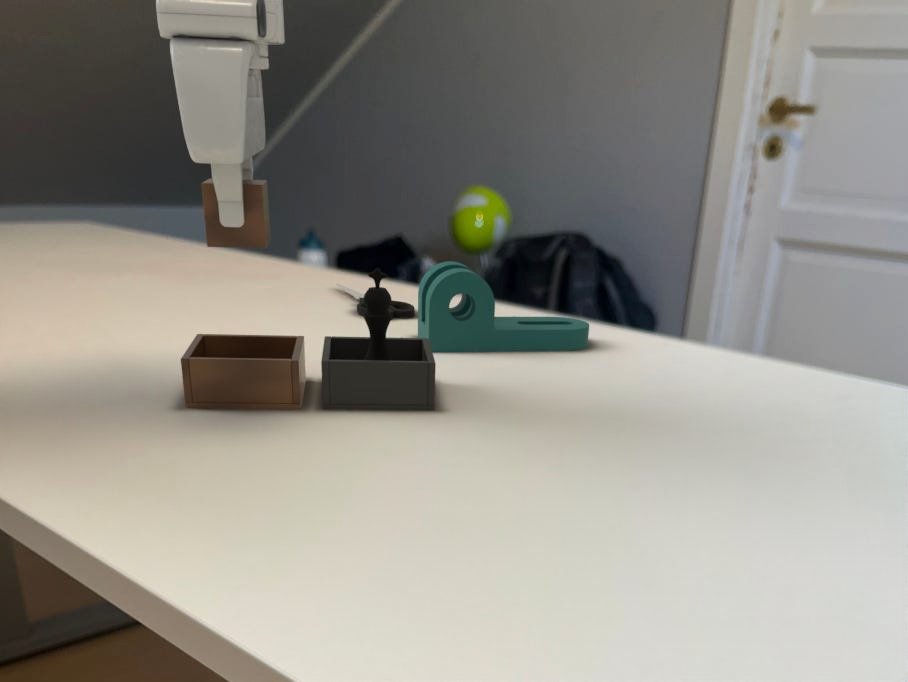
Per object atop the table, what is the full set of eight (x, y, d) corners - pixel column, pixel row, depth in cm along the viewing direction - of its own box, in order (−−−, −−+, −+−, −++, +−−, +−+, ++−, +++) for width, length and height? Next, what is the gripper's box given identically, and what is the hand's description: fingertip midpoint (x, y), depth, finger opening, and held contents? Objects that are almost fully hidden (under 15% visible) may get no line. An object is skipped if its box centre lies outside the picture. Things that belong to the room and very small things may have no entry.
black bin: (323, 410, 80) (321, 360, 78) (326, 381, 88) (324, 336, 86) (434, 411, 81) (435, 362, 79) (427, 382, 89) (428, 338, 87)
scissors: (309, 289, 127) (371, 320, 112) (309, 282, 126) (371, 312, 111) (357, 287, 130) (423, 317, 115) (357, 280, 129) (424, 309, 114)
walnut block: (207, 246, 75) (201, 182, 73) (214, 239, 79) (209, 178, 77) (266, 248, 76) (262, 184, 74) (270, 240, 80) (266, 180, 77)
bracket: (428, 352, 99) (429, 271, 96) (417, 338, 105) (418, 260, 101) (595, 351, 103) (603, 273, 99) (576, 337, 109) (583, 262, 105)
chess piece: (360, 381, 86) (358, 262, 82) (408, 385, 86) (409, 265, 81) (346, 394, 83) (343, 269, 78) (397, 398, 82) (397, 273, 77)
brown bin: (185, 408, 79) (180, 358, 77) (201, 379, 87) (197, 333, 85) (300, 409, 80) (298, 360, 78) (306, 381, 88) (304, 335, 86)
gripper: (197, 20, 78) (213, 207, 85) (150, -1, 61) (175, 237, 67) (276, 24, 79) (286, 209, 86) (253, 5, 61) (268, 239, 68)
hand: (237, 221), depth 77 cm, fingers closed on walnut block, 4 cm apart
